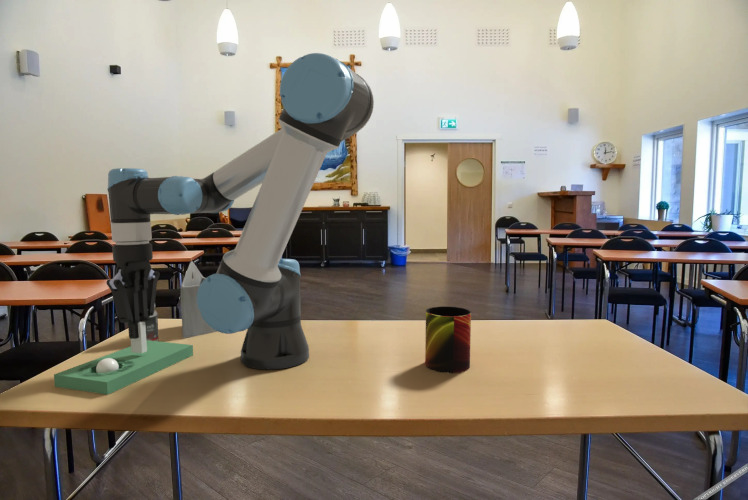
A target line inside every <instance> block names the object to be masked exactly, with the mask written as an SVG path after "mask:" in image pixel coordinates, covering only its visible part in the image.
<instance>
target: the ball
mask: <svg viewBox="0 0 748 500" xmlns="http://www.w3.org/2000/svg"><path fill="white" fill-rule="evenodd" d="M118 369H119V365H118V363H117V361H116V360H114V359H112V358H106V359H103V360H101V361H100V362H99V363H98V364H97V366H96V373H107V372H111V371H115V370H118Z"/></svg>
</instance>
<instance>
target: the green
mask: <svg viewBox="0 0 748 500" xmlns="http://www.w3.org/2000/svg"><path fill="white" fill-rule="evenodd" d="M146 342H147V351H146V352H144V353H133V352H132V351H131V345H130V346H128V347H124V348H122V349H120V350H118V351H117V350H116V351H115V352H112V353H108V354H106V355H103V356H101V357H98V358H95V359H91V360H89V361H87V362H84V363H81V364H79V365H75V366H73V367H70V368H67V369H65V370H61V371H59V372H57V373H54V374H53V379H54V380H53V381H54V382H53V383H54V387H56V388H62V389H68V390H73V391H74V390H76V391H81V392H87V393H88V392H89V393H94V394H95V393H96V394H101V395H111V394H112V393H115V392H117V391H119V390H121V389H123V388H125V387H127V386H130V385H132V384H134V383H136V382H139V381H141V380H143V379H145V378H147V377H149V376H151V375H153V374H156V373H158V372H159V371H162V370H164V369H166V368H168V367H171V366H173V365H175V364H178V363H180V362H182V361H183V360H186V359H188V358H190V357H192V356H194V345H193V344H188V343H187V344H186V343H176V342H167V341H158V340H157V341H151V340H146ZM106 358H112V359H114V360H116V361H117V363H118V365H119V369H118V370H115V371H111V372H107V373H96V366H97V364H98V363H99V362H100V361H101V360H103V359H106Z"/></svg>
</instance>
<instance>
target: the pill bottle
mask: <svg viewBox="0 0 748 500" xmlns="http://www.w3.org/2000/svg"><path fill="white" fill-rule="evenodd" d="M155 308H156V305H155V306H154V314H153V316H149V317H151V320H150V321H147V335H146V340H151V341H158V340H159V320H158V319H159V318H158V312H157V310H155ZM148 310H149V309H148Z"/></svg>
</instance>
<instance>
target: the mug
mask: <svg viewBox="0 0 748 500" xmlns="http://www.w3.org/2000/svg"><path fill="white" fill-rule="evenodd" d="M471 320H472V311H471V310H469V309H467V308H464V307H463V308H462V307H458V306H433V307H429V308H427V309H425V349H424V350H425V352H424V353H425V355H424V356H425V357H424V358H425V360H424V361H425V363H424V365H425V368H427V369H428V370H431V371H433V372H437V373H442V374H457V373H459V374H460V373H464V372H466V371H468V370H470V367H471V336H472V335H471V332H472V331H471V328H472V326H471V325H472V324H471V323H472V321H471Z"/></svg>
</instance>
